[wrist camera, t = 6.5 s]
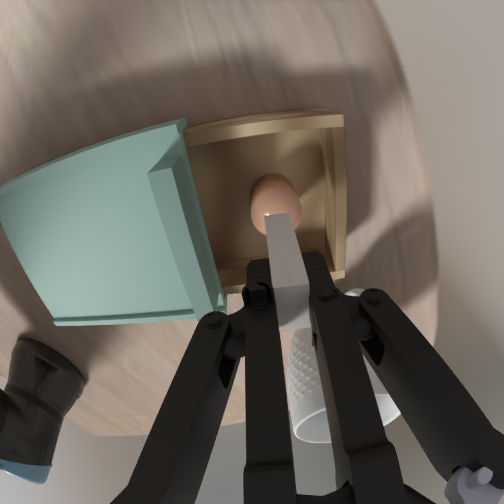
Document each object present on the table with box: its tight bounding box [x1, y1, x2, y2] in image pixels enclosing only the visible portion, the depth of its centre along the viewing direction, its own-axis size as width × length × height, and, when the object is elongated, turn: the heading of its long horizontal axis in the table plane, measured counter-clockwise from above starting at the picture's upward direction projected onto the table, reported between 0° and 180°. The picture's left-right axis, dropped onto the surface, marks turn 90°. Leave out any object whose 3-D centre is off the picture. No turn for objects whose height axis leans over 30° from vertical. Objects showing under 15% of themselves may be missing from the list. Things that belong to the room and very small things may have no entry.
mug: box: [287, 288, 401, 443], centre depth 26 cm, size 15×11×13 cm
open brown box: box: [182, 108, 347, 295], centre depth 22 cm, size 18×13×4 cm
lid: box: [0, 117, 227, 326], centre depth 20 cm, size 18×15×5 cm
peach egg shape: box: [250, 173, 303, 235], centre depth 22 cm, size 4×4×4 cm
